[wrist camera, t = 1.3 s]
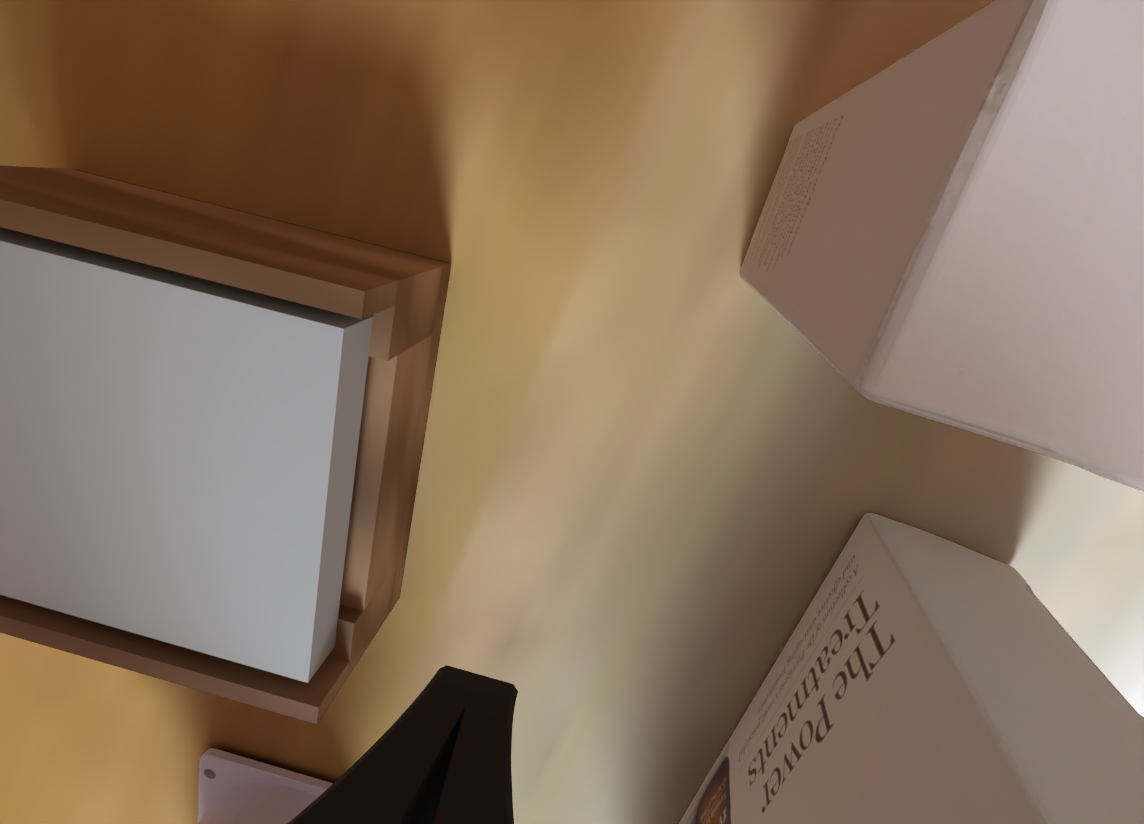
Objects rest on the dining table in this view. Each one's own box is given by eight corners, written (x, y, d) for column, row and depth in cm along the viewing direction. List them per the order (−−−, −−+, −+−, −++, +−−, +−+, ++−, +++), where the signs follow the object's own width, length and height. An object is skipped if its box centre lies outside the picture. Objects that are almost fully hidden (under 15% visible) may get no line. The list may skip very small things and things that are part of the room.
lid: (334, 646, 19) (307, 683, 17) (19, 556, 19) (-31, 585, 18) (373, 316, 15) (343, 328, 14) (-11, 218, 16) (-77, 220, 14)
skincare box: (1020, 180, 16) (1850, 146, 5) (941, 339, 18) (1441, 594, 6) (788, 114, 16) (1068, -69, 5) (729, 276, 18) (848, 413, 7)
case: (399, 597, 23) (316, 724, 17) (86, 511, 23) (-88, 607, 18) (451, 263, 19) (364, 290, 13) (71, 169, 19) (-161, 158, 14)
